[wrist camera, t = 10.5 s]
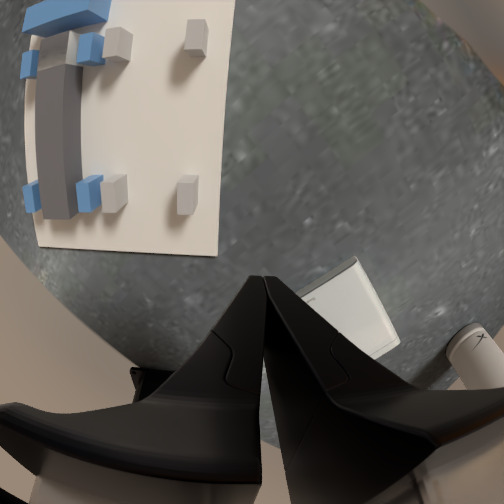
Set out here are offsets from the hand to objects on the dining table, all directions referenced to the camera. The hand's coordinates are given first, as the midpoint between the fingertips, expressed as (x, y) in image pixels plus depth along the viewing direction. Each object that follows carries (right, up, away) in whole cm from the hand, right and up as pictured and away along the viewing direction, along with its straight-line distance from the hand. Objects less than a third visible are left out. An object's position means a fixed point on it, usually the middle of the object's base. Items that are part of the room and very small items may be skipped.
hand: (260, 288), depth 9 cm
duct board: (-10, +10, +8) cm, 16 cm away
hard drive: (+8, -5, +18) cm, 20 cm away
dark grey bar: (-14, +10, +7) cm, 18 cm away
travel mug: (+27, -10, +20) cm, 35 cm away
